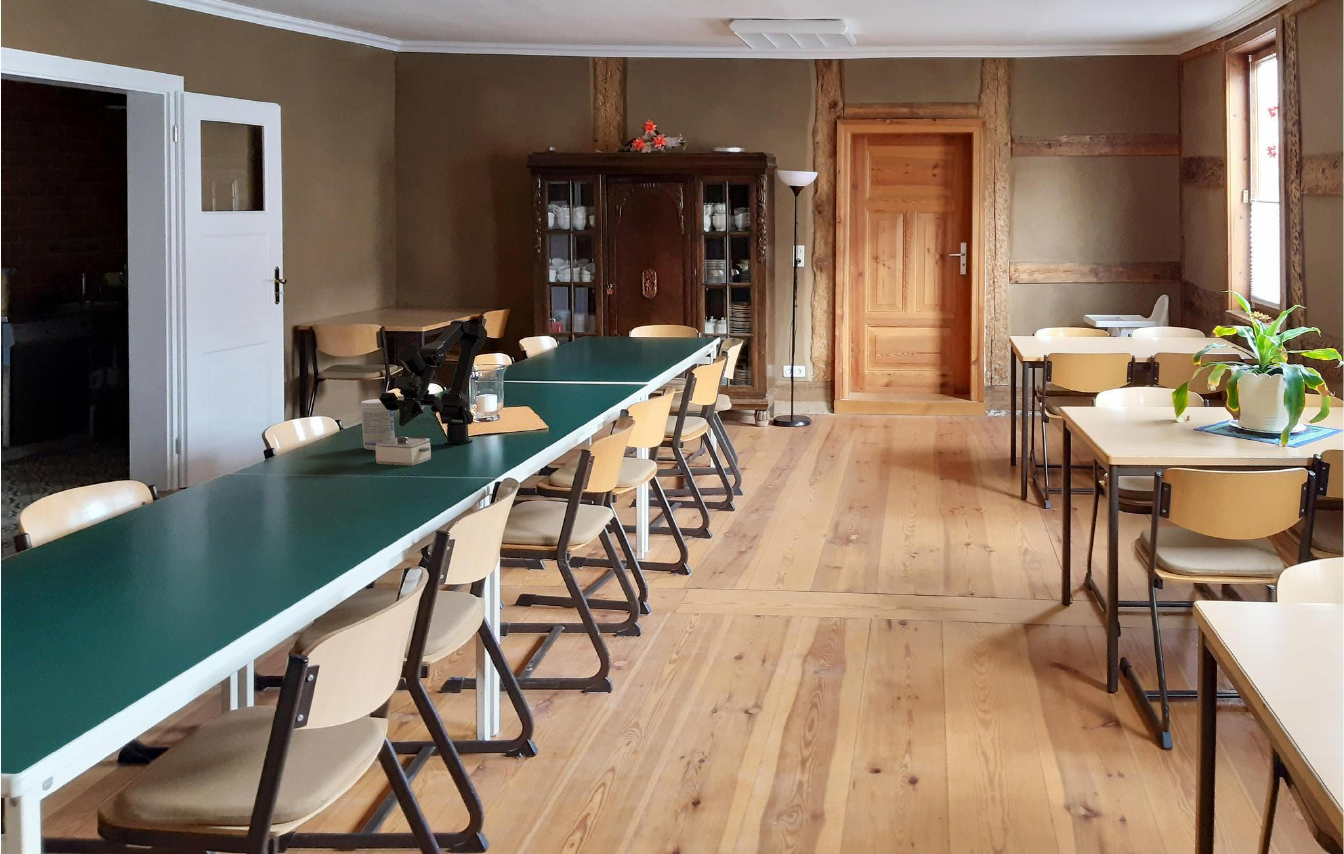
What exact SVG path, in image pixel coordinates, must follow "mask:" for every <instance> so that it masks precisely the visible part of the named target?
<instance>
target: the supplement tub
mask: <svg viewBox="0 0 1344 854" xmlns="http://www.w3.org/2000/svg"><path fill="white" fill-rule="evenodd" d="M360 413H361V428H362V443H363V448H364V449H365V450H369V451H376V448H375V446H376V443H379V442H382V441H385V440H388V439H392V438H395V437H396V436H395V435H396V434H395V420H394V419H395V418H394V410H387V409H386V408H385V407H384V405H383V404H382V403H381V401H380V400H379V398H375V399H365V400H362V401H361V402H360Z"/></svg>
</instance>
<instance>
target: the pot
mask: <svg viewBox="0 0 1344 854" xmlns="http://www.w3.org/2000/svg"><path fill="white" fill-rule="evenodd" d="M375 448H376V450H375V460H376V461H375V463H376V464H377V465H379V464H381V465H392V464H393V465H397V466H410V467H411V466H412V467H413V466H415V465H418V464H421V463H424V462H427V461H430V460H431V459H432V454H431V453H432V451H431V441H430V442H426V443H423V444H420V445H417V446H414V447H394V446H375Z"/></svg>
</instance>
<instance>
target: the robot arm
mask: <svg viewBox="0 0 1344 854" xmlns="http://www.w3.org/2000/svg"><path fill="white" fill-rule="evenodd" d="M487 338H488V331H487V329H486V328H485V326H484V325H482V324H475V323H472V322H469V321H468V320H467V321H466V320H464V319H463V320H460V319H459V320H458V319H457V320H456V319H455V320H451V322H450V323H449V325H448V327H446V328H445V330H444V331H443V332H442V333H441V334H439V336H438V337H437V338H436V339H435V340H434V341H432V342H430V343H426V344H425V345H423V346H422V347H420V348H419V346H418V344H417V343H410V344H409V346H407V347H405V348H403V349H402V350H401V351H400V352H399V354H398V358H399V360H400V361H401V362H402V364H403V366H404V367H405V369H406V370H407V371H408V372H409V373H411V374H412V375H411V376H410V377H408V376H396V377H395V382H394V389H397V390H399V394H400V395H396V394H395V392H388V391H387V392H385V391H383V392H381V394H380V395H379V398H378V399H379V400H380V401H381V403H382V404H383V405H384V407H385V408H386V409H387V410H393V412H394V411H398V410H399V411H398V412H399V417H398V419H399V420H398V421H399V422H398V424H399V426H400V427H405V426H406V425H407V424H409V422H411V421H412V420H414V419H416V418H417V417H418V416H420V415H422V414H424V413H425V412H424V408H426V406H431V408H430V410H431V412H432V413H438V415H439V418H440V421H441V424H442V425H444V424H445V425H446V441H444V442H443V444H446V445H456V446H461V445H465V444H469V443H473V440H472V439H469V425H472V424H473V422H474V415H473V413H472V412H471V411H470V409H469V401H468V397H467V392H468V389H469V388H468V387H469V384H470V379H471V375H472V372H473V369H474V364H475V361H476V360H475V359H476V355H477V354H478V352H479V351H481V349H483V347H484V345H485V343H486V340H487ZM457 342H458V345H459V347H460V351H459V356H458V359H457V363H456V367H455V370H454V371H455V372H454V374H453V379H452V383H451V385H450V389H449V391H448V392H447V393H446V392H444V393H442V395H441V398H440V397H439V396H438V394H436V393H430V391H431V390H429V387H430V385H431V381H432V380H435V381H436V380H437V379H438V376H437V373H436V370H434V369H433V367H435V368H437V367H438V368H439V367H441V366H443V364H444V363H445V361H446V360H447V359H448V356H447V353H448V352H449V350H450V349H451V348H453V346H455V344H456V343H457Z"/></svg>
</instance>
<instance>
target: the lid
mask: <svg viewBox="0 0 1344 854" xmlns="http://www.w3.org/2000/svg"><path fill="white" fill-rule="evenodd" d="M426 442H430V443H431V439H430V438H421V437H417V438H416V437H408V436H404V435H403V436H395V438H392V439H388V440H385V441H382V442H379V443H376V446H394V447H414V446H417V445H420V444H423V443H426Z"/></svg>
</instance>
